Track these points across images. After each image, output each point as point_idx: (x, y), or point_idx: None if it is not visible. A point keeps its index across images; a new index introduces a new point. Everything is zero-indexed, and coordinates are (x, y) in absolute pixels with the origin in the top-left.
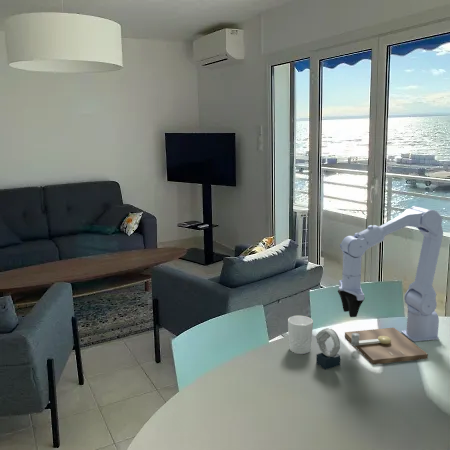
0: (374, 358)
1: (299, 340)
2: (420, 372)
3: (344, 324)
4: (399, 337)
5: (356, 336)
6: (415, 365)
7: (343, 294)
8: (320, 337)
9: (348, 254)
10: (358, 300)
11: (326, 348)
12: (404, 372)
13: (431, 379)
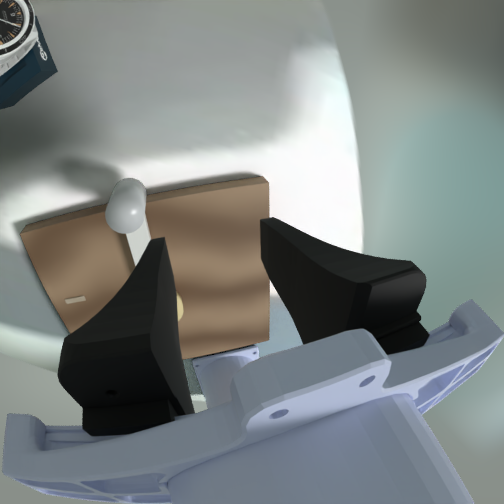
0: (31, 241)
1: None
2: (23, 329)
3: (354, 207)
4: (198, 343)
5: (105, 215)
6: (53, 331)
7: (336, 303)
8: None
9: None
10: (8, 416)
11: (26, 48)
12: (9, 297)
13: (2, 337)
